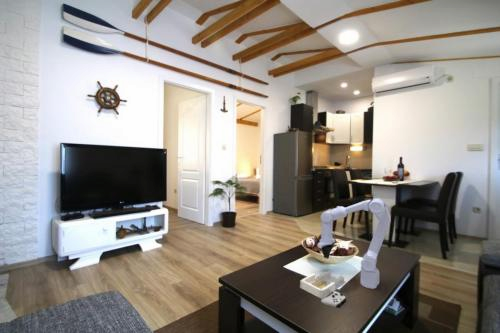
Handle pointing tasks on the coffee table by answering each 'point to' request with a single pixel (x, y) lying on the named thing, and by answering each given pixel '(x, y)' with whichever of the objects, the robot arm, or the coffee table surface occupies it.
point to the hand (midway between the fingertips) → (326, 257)
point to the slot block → (331, 279)
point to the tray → (314, 290)
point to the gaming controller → (334, 299)
